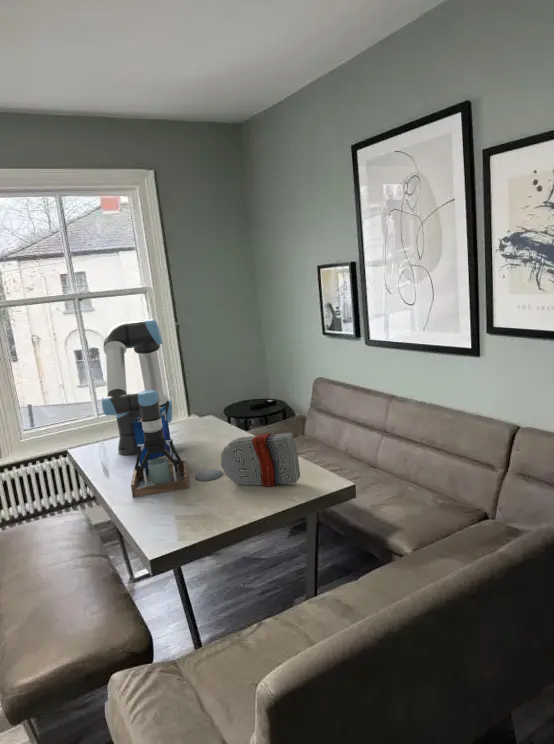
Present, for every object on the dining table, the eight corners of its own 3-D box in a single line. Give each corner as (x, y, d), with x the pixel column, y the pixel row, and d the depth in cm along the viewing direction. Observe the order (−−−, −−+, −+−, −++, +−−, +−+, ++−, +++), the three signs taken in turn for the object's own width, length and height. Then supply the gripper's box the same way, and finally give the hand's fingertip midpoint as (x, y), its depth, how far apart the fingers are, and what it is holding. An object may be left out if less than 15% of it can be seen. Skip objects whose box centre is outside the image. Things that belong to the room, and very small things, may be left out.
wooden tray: (135, 479, 230) (134, 468, 229) (187, 471, 234) (186, 459, 233) (132, 497, 212) (130, 485, 211) (189, 487, 215) (187, 475, 214)
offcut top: (148, 467, 229) (147, 461, 228) (167, 461, 233) (166, 455, 233) (152, 469, 225) (152, 463, 225) (171, 463, 230) (170, 457, 229)
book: (155, 477, 231) (145, 419, 226) (139, 477, 233) (129, 420, 228) (174, 458, 252) (166, 405, 247) (159, 458, 253) (151, 406, 249)
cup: (175, 481, 223) (171, 458, 221) (163, 489, 216) (159, 465, 214) (159, 480, 227) (155, 457, 225) (147, 488, 220) (143, 464, 218)
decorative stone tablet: (294, 430, 206) (221, 437, 217) (288, 435, 200) (214, 442, 211) (303, 479, 209) (231, 483, 220) (298, 486, 203) (225, 490, 214)
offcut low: (149, 479, 231) (148, 472, 230) (173, 473, 234) (172, 467, 233) (150, 482, 227) (149, 476, 226) (175, 476, 230) (174, 470, 229)
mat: (194, 473, 230) (194, 471, 230) (221, 468, 232) (221, 467, 232) (195, 482, 220) (195, 481, 220) (223, 478, 222) (223, 476, 221)
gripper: (121, 437, 212) (130, 491, 216) (182, 427, 215) (190, 481, 220) (123, 431, 219) (132, 484, 223) (182, 422, 223) (190, 474, 227)
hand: (161, 482), depth 221 cm, fingers open, 11 cm apart
